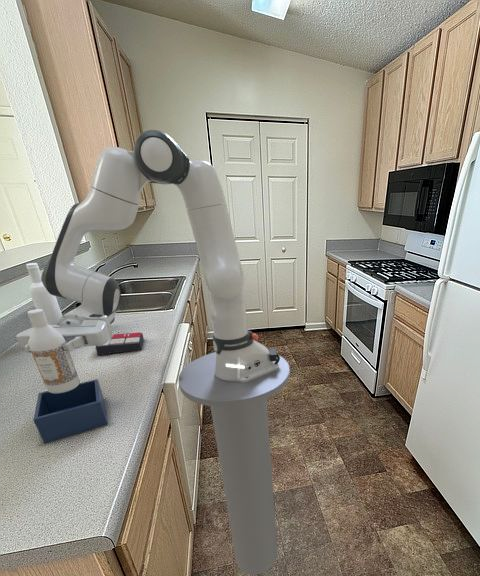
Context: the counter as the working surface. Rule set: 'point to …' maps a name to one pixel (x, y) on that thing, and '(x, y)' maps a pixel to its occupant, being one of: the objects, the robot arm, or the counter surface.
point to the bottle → (43, 296)
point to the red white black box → (121, 343)
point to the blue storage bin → (70, 411)
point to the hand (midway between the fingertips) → (47, 348)
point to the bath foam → (51, 355)
